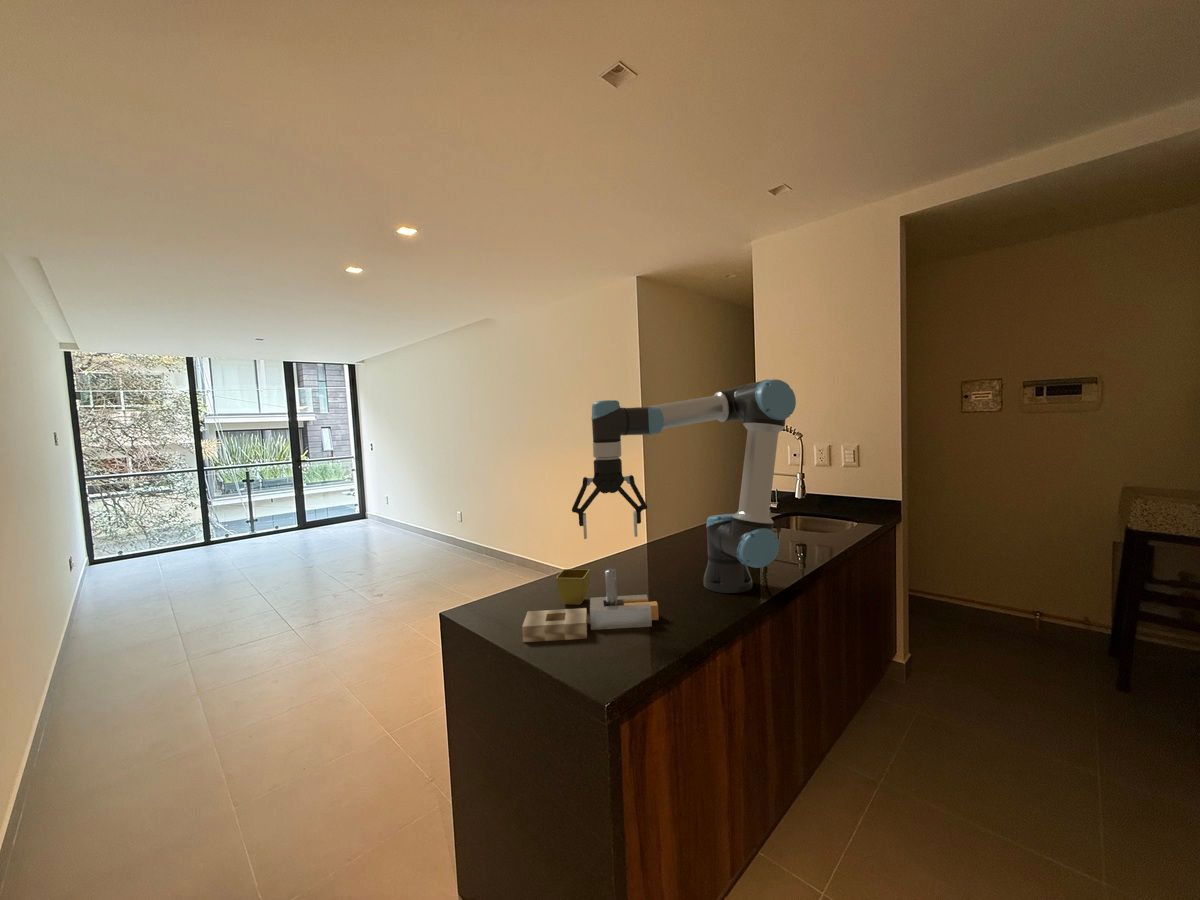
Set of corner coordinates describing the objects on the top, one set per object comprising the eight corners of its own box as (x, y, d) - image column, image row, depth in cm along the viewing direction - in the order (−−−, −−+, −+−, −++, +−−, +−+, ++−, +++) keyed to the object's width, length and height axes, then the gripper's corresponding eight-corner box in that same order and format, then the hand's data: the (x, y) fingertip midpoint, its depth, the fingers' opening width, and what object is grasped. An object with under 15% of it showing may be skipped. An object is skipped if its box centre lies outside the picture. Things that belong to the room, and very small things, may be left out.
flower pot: (585, 608, 140) (583, 577, 140) (556, 607, 142) (555, 577, 142) (591, 597, 149) (590, 569, 148) (564, 596, 150) (563, 568, 150)
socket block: (647, 611, 135) (646, 594, 134) (651, 626, 125) (650, 607, 124) (591, 615, 134) (590, 597, 134) (590, 629, 124) (589, 611, 124)
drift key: (657, 615, 131) (656, 601, 131) (658, 619, 128) (657, 605, 128) (624, 617, 131) (623, 603, 131) (625, 621, 128) (624, 607, 128)
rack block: (587, 622, 129) (586, 608, 129) (586, 638, 119) (586, 622, 119) (528, 625, 129) (527, 611, 129) (523, 642, 119) (522, 626, 119)
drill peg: (618, 618, 131) (615, 568, 130) (618, 622, 128) (616, 571, 127) (607, 619, 131) (604, 569, 130) (607, 623, 128) (604, 572, 127)
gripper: (651, 455, 132) (654, 531, 132) (561, 459, 131) (565, 535, 132) (655, 457, 124) (658, 537, 125) (560, 461, 124) (563, 541, 124)
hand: (610, 536), depth 128 cm, fingers open, 13 cm apart
